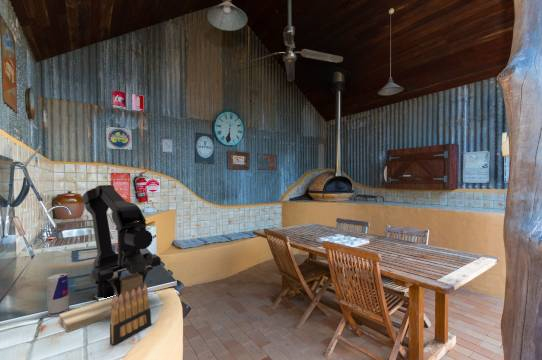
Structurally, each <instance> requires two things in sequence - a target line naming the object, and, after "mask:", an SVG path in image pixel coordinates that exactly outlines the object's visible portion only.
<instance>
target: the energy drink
mask: <svg viewBox="0 0 542 360" xmlns="http://www.w3.org/2000/svg"><path fill="white" fill-rule="evenodd" d="M69 295H70V294H69V276H68V274H67V273H65V272H61V273H60V272H59V273H56V274H53V275H52V274H51V275H49V276H47V277H46V299H47V300H46V302H47V304H46V305H47V316H48V317H50V318H51V317H52V318H55V317H58V316H59V314H62V313H65V312H68V311H70V298H69Z"/></svg>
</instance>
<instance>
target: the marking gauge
mask: <svg viewBox="0 0 542 360" xmlns="http://www.w3.org/2000/svg"><path fill="white" fill-rule="evenodd" d="M119 284H120V292H121V295H122V297H123V304H124V307H125V295H126V292H128V293H129V297H130V305H131V293H132V290H133V289H134V290H135V294H136V302H137V291H138V288H139V287H140V288H141V291H142V299H143V288H144V284H143V275H141V274H139V273H138V272H137V273H135V274H128V275H124V276H121V277H120V280H119ZM118 300H119V297H118Z"/></svg>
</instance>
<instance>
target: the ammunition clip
mask: <svg viewBox="0 0 542 360" xmlns="http://www.w3.org/2000/svg"><path fill="white" fill-rule="evenodd" d="M111 307H112V308H111V316H110V324H109V345H111V346H114V345H115V346H117V345H119V344H120V343H123V342H124V341H126V340H127V339H130V338H131V337H133V336H135V335H137V334H138V333H140V332H141V331H144V330H146V329H147V328H149V327H151V326H152V312H151V307H150V299H149V293H148V287H147V284H146V283H144V284H143V299H142V291H141V288H140V287H139V288H138V291H137V302H136V294H135V290H134V289H133V290H132V293H131V305H130V297H129V293H128V292H126V295H125V307H124V304H123V297H122V295H121V294H120V296H119V300H118V311H117V303H116V299H115V297H113V299H112V305H111ZM115 346H114V347H115Z"/></svg>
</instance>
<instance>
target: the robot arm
mask: <svg viewBox="0 0 542 360" xmlns="http://www.w3.org/2000/svg"><path fill="white" fill-rule="evenodd" d="M82 203H83V204H84V207H85V210H86V212H88V213H89V214H90V215H91V217H92V224H93V232H94V239H95V245H96V252H97V255H96V256H95V259H94V260H93V268H92V270H91V272H90V274H89V281H90V283H92V284H94V285H96V295H97V297H104V298H107V297H110V296H113V295H114V293H115V292H116V294H117V296H118V297H119V296H120V294H121V292H120V284H119V280H120V278H121V277H122V272H125V271H128V273H129V275H131V274H135V273H139V274H141V275H143V285H145V281H146V277H147V275H148V273H149V272H151V270H153V269H154V267H158V266H161V265H162V258H161V257H160V256H158V255H156V254H152V253H151V252H147V253H142V252H141V250H146V249H147V248H149V247H150V246H151V245H152V242H153V239H154V237H153V235H152V233H151V232H150V230H148V229H146V227H147V220H146V217H145V216H144V214H143V212H142V210H141V209H140V207H139V206H138V205H137V204H135V203H134V202H130V201H127V200H126V199H124V198H123V197H122V195H121V194H119V192H118V191H117V190H116V189H115V186H114V185H111V184H100V185H96V187H94V188H92V189H89V190H86V191H85V193H84V194H83V195H82ZM109 209H110V210H111V211H112V213H111V219H112V221H113V223H114V225H115V226H116V227H115V230H116V232H117V248H116V252H115V251H114V250H113V244H112V239H111V232H110V225H109V219H108V210H109Z"/></svg>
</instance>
